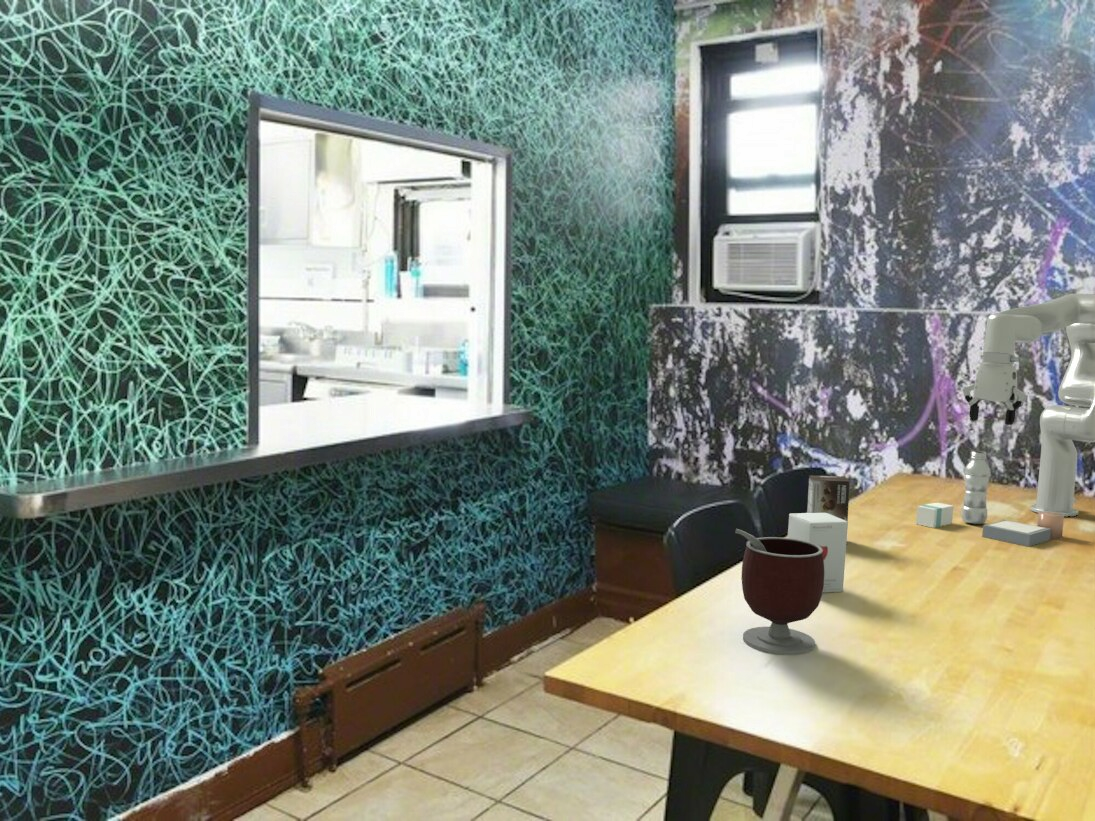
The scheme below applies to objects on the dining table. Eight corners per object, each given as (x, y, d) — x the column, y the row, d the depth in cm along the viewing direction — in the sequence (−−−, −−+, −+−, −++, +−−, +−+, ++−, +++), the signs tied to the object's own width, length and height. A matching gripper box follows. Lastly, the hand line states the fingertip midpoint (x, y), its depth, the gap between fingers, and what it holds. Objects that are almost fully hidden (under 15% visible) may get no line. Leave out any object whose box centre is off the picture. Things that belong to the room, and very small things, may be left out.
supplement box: (805, 594, 198) (809, 522, 196) (783, 581, 206) (787, 512, 205) (844, 592, 200) (849, 521, 198) (821, 579, 209) (825, 511, 207)
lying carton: (934, 520, 271) (936, 502, 271) (952, 523, 268) (953, 505, 267) (915, 524, 265) (917, 506, 265) (933, 528, 261) (934, 509, 261)
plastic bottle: (990, 526, 265) (996, 454, 262) (965, 525, 265) (971, 453, 263) (980, 521, 271) (986, 450, 269) (956, 520, 271) (962, 449, 269)
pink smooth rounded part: (1042, 532, 260) (1044, 510, 259) (1065, 537, 255) (1068, 515, 254) (1032, 535, 256) (1034, 513, 255) (1055, 540, 251) (1057, 517, 250)
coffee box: (841, 538, 246) (845, 476, 244) (846, 545, 240) (851, 480, 238) (804, 536, 247) (808, 474, 245) (809, 543, 240) (813, 479, 239)
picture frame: (1004, 530, 260) (1005, 519, 260) (1050, 540, 251) (1051, 528, 251) (982, 536, 253) (983, 524, 253) (1028, 546, 244) (1029, 534, 243)
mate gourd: (806, 629, 177) (812, 521, 174) (830, 657, 163) (838, 540, 161) (721, 627, 176) (727, 519, 174) (738, 655, 162) (745, 538, 160)
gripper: (1036, 362, 259) (1029, 426, 261) (973, 357, 272) (967, 418, 274) (1024, 361, 254) (1016, 426, 256) (960, 357, 268) (953, 418, 269)
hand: (991, 422), depth 265 cm, fingers open, 9 cm apart
